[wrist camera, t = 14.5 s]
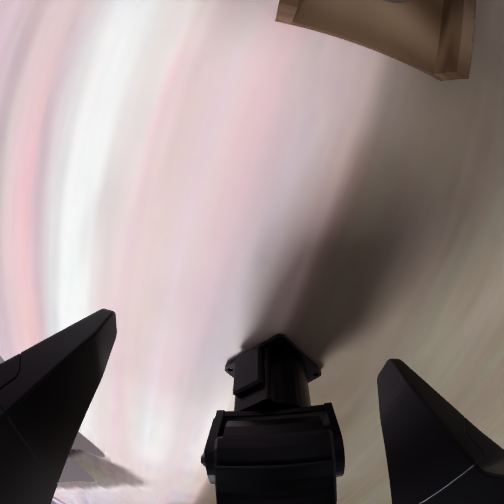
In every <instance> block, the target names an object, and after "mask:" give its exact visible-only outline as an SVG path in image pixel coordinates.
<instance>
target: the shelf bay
mask: <svg viewBox="0 0 504 504" xmlns="http://www.w3.org/2000/svg"><path fill="white" fill-rule="evenodd" d="M475 8H476V0H410V1H408V2H403V3H393V2H387V1H384V0H280V1H279V5H278V10H277V16H276V21H277V22H282V23H287V24H291V25H295V26H299V27H303V28H307V29H311V30H315V31H318V32H322V33H325V34H328V35H332V36H335V37H338V38H341V39H344V40H347V41H350V42H353V43H356V44H359V45H362V46H364V47H367V48H370V49H372V50H375V51H378V52H380V53H383V54H385V55H387V56H390V57H392V58H395V59H397V60H399V61H401V62H404V63H406V64H408V65H410V66H412V67H415V68H417V69H419V70H421V71H423V72H425V73H427V74H429V75H431V76H433V77H435V78H437V79H439V80H440V81H441V80H454V79H468V77H469V71H470V64H471V56H472V48H473V38H474V26H475Z"/></svg>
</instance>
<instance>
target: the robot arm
mask: <svg viewBox="0 0 504 504" xmlns="http://www.w3.org/2000/svg"><path fill="white" fill-rule="evenodd" d="M116 334H117V328H116V315H115V312H114V311H111V310H107V309H101V310H99V311H97V312H95V313H93V314H91V315H89V316H88V317H86V318H84V319H82V320H80V321H78V322H76V323H75V324H73V325H71V326H69V327H67V328H65V329H63V330H62V331H60V332H58V333H56V334H54V335H52V336H51V337H49V338H47V339H45V340H43V341H41V342H40V343H38V344H36V345H34V346H32V347H30V348H29V349H27V350H25V351H23V352H21V355H20V354H18V355H16V356H14V357H12V358H10V359H8V360H7V361H5V362H3V363H1V364H0V504H51V501H52V499H53V496H54V493H55V490H56V487H57V483H58V481H59V479H60V476H61V473H62V470H63V468H64V465H65V463H66V460H67V458H68V455H69V453H70V450H71V448H72V445H73V443H74V440H75V438H76V435H77V433H78V431H79V428H80V426H81V424H82V421H83V419H84V417H85V414H86V412H87V410H88V408H89V405H90V403H91V401H92V399H93V397H94V394H95V392H96V390H97V388H98V386H99V384H100V381H101V379H102V377H103V374H104V371H105V368H106V365H107V362H108V359H109V356H110V353H111V350H112V347H113V345H114V342H115V339H116ZM279 339H282V340H281V341H279ZM230 368H232V369H230ZM225 371H226V372H227V373H228V374H229V375H231V376H232V377H233V378H234V386H233V395H235V407H234V411H225V410H217V413H216V416H215V418H214V419H213V423H212V426H211V429H210V433H209V436H208V439H207V443H206V446H205V450H204V453H203V455H202V456H201V463H202V464H203V465H204V466H205V467H206V470H207V475H208V479H209V481H210V483H211V484H215V486H216V499H217V504H336V502H337V491H336V477H339V476H343V474H344V468H345V454H344V445H343V439H342V435H341V431H340V428H339V425H338V422H337V419H336V416H335V412H334V409H333V406H332V403H331V402H330V403H324V405H315V406H311V402H310V395H309V388H308V383H309V382H310V381H312V380H314V379H316V378H318V377H320V376H321V370H320V368H319V367H317V366H316V365H315V364H314V363H313V362H312V361H311V360H310V359H309V358H308V357H307V356H306V355H305V354H304V353H303V352H302V351H301V350H299V349H298V348H297V347H296V346H295V345H294V344H293V343H292V342H291V341H290V340H289V339H288V338H287V337H286V336H285V335H283V334H277V335H275V336H274V337H272V338H270V339H269V340H267V341H265V342H264V343H262V344H260V345H258V346H256V347H254V348H252V349H251V350H249V351H247V352H246V353H244V354H242V355H240V356H239V357H237V358H236V359H234V360H233V361H231V362H229V363H227V364H226V365H225ZM377 385H378V396H379V409H380V419H381V426H382V432H383V438H384V444H385V450H386V457H387V464H388V472H389V479H390V488H391V497H392V504H504V449H502V448H501V447H500V446H499V445H497V444H496V443H495V442H493V441H492V440H491V439H490V438H488V437H487V436H486V435H485V434H483V433H482V432H481V431H480V430H479V429H477V428H476V427H475V426H474V425H473V424H472V423H471V422H470V421H468V420H467V419H466V418H464V416H463V415H462V414H461V413H460V412H458V411H457V410H456V409H455V408H454V407H453V406H452V405H451V404H450V403H449V402H447V401H446V400H445V399H444V398H443V397H442V396H441V395H440V394H438V393H437V392H436V391H435V390H434V389H433V388H432V387H431V386H430V385H428V384H427V383H426V382H425V381H424V380H423V379H422V378H421V377H419V376H418V375H417V374H416V373H415V372H414V371H413V370H412V369H410V368H409V367H408V366H407V365H406V364H405V363H404V362H403V361H401V360H400V359H389V360H388V361H387V362H386V364H385V365H384V367H383V368H382V370H381V372H380V373H379V375H378V378H377Z"/></svg>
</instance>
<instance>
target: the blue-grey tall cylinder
mask: <svg viewBox="0 0 504 504" xmlns="http://www.w3.org/2000/svg"><path fill="white" fill-rule="evenodd" d="M384 1H387V2H393V3H403V2H408V1H410V0H384Z"/></svg>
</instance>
